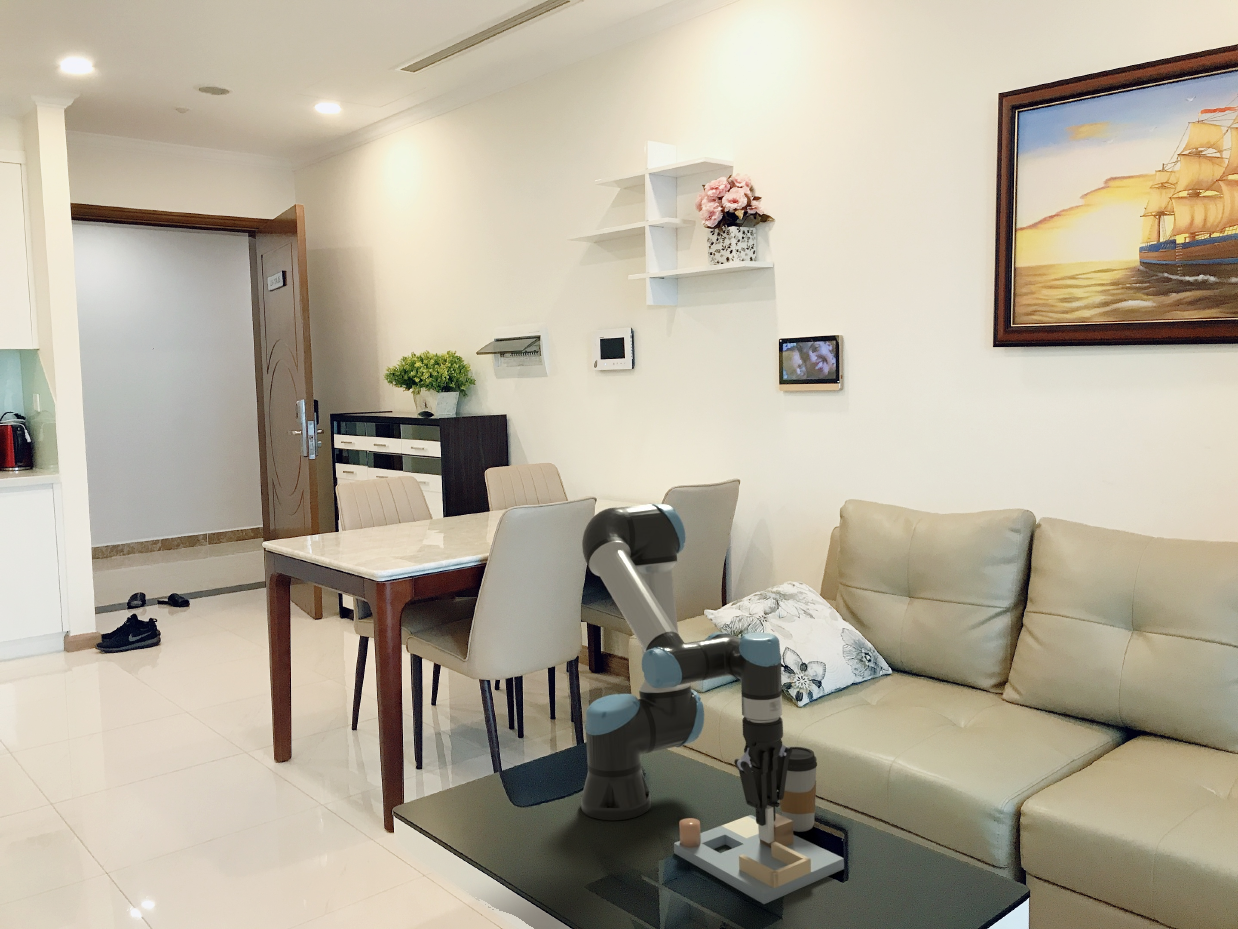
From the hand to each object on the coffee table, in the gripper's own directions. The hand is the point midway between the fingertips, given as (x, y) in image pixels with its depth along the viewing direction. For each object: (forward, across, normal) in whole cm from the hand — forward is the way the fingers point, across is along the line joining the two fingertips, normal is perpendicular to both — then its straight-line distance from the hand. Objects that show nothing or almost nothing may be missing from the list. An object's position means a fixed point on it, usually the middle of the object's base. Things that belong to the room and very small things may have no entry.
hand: (766, 839), depth 182 cm
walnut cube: (+2, +3, 0) cm, 3 cm away
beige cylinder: (+2, -10, +11) cm, 15 cm away
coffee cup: (+4, +15, +7) cm, 17 cm away
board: (+4, -2, +1) cm, 4 cm away
